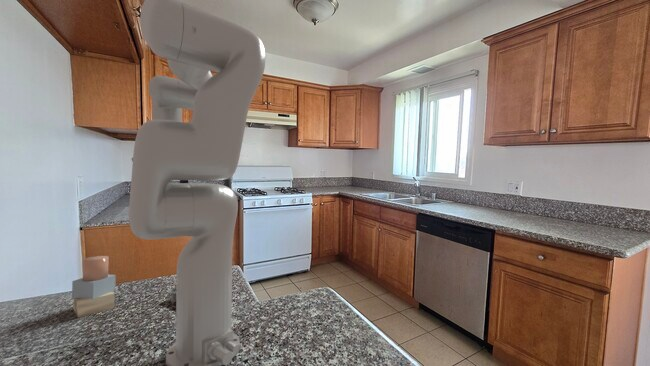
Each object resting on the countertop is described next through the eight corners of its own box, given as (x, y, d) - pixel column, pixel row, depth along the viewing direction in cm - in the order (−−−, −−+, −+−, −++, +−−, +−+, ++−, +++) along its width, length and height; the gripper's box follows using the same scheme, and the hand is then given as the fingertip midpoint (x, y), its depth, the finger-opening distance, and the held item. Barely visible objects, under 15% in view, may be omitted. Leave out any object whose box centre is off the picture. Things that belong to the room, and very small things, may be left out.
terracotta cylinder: (110, 277, 71) (110, 258, 71) (84, 282, 67) (85, 262, 67) (105, 273, 74) (106, 254, 74) (81, 277, 71) (81, 258, 71)
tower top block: (115, 290, 73) (115, 274, 73) (93, 299, 67) (93, 282, 68) (95, 288, 74) (95, 273, 74) (72, 297, 68) (72, 281, 68)
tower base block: (114, 309, 71) (114, 293, 71) (78, 318, 66) (78, 301, 66) (107, 301, 76) (108, 286, 76) (73, 310, 70) (73, 294, 71)
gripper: (138, 122, 71) (137, 189, 71) (202, 133, 85) (202, 189, 85) (127, 126, 76) (126, 189, 75) (190, 135, 89) (189, 189, 89)
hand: (166, 189), depth 80 cm, fingers open, 9 cm apart
